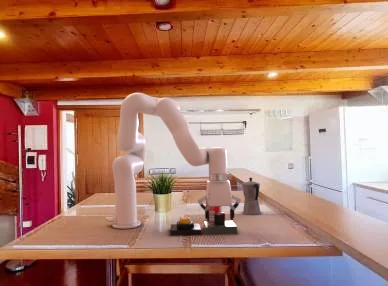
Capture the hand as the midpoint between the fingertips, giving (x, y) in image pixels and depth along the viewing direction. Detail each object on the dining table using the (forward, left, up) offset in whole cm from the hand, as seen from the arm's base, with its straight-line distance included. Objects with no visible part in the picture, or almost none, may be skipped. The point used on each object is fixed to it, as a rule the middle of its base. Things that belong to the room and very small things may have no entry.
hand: (219, 220), depth 130 cm
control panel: (0, 0, -4) cm, 4 cm away
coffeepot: (+21, +32, -5) cm, 39 cm away
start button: (-14, 0, -1) cm, 14 cm away
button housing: (-14, 0, -4) cm, 15 cm away
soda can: (0, +19, -5) cm, 20 cm away
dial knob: (0, 0, -1) cm, 1 cm away
